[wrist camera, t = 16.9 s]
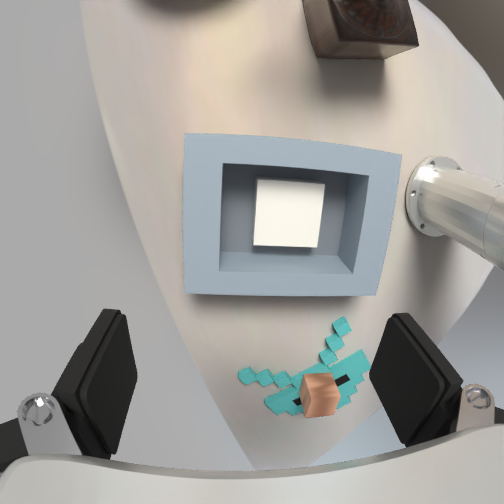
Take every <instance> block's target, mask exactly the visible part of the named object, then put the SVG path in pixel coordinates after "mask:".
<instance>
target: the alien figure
mask: <svg viewBox="0 0 504 504" xmlns="http://www.w3.org/2000/svg"><path fill="white" fill-rule="evenodd" d="M332 324H333V326H334V328H335V330H336V333H334V334H333V335H331V336H329V337H327V338H325V339H326V341H327V344H328V345H329V348H327V349H325V350H324V351H322V352H320V353H319V354H320V357H321V359H322V362H320V363H318V364H316V365H314V366H312V367H311V368H309V369H307V370H305V371H303V372H301V373H299V374H297V375H295V376H293V377H290V376H289V375H288V374H287V373H286V371H283V372H281V373H279V374H277V375H275V376H273V375H272V374H271V372H270V371H269V370H268V369H266V370H264V371H262V372H260V373H258V374H256V373H255V372H254V371H253V370H252V369H251V368H250V367H248V368H246V369H243V370H241V371H239V372H238V378H239V379H240V380H241V381H242V382H243V383H244V384H245V385H247V384H249V383H251V382H254V381H256V380H257V381H258V382H259V383H260V384H261V385H262V386H263V387H265V386H267V385H269V384H271V383H273V382H275V383H276V384H277V385H278V386H279V387H280V388H283V387H285V386H287V385H289V384H291V383H292V384H293V386H291V387H289V388H287V389H285V390H282V391H280V392H278V393H276V394H274V395H271V396H269V397H267V398H265V404H266V405H267V406H268V407H269V408H270V409H271V410H272V411H273V412H274V413H275V414H276V415H278V414H281V413H283V412H285V411H288V412H289V413H290V414H291V415H292V416H293V415H295V414H298V413H300V412H303V413H304V410H303V407H302V403H301V399H300V395H299V391H300V387H301V383H302V379H303V375H304V374H313V373H328V372H331V373H332V376H333V378H334V380H335V383H336V385H337V388H338V390H339V393H340V396H341V397H340V400H339V402H338V405H337V407H336V409H338V408H340V407H342V406H344V405H346V404H348V403H350V402H351V401H350V398H349V396H350V395H352V394H354V393H356V392H358V391H357V389H356V387H355V385H357V384H359V383H360V382H362V381H364V378H363V376H362V373H364V372H366V371H367V370H369V369H371V366H370V364H369V362H368V360H367V358H366V356H365V354H364V352H363V351H362V349H361V350H359V351H358V352H356V353H354V354H352V355H351V356H349V357H347V358H345V359H343V360H342V361H340V362H338V363H336V364H334V365H332V366H331V367H328V365H329V364H331V363H333V362H335V361H337V360H338V359H337V357H336V355H335V353H334V351H336V350H338V349H340V348H341V347H343V346H345V345H344V343H343V341H342V339H341V338H340V337H341V336H343V335H345V334H347V333H348V332H350V331H352V330H351V328H350V326H349V324H348V322H347V320H346V319H345V317H344V316H343V317H342V318H340V319H338V320H337V321H335V322H333V323H332Z"/></svg>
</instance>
